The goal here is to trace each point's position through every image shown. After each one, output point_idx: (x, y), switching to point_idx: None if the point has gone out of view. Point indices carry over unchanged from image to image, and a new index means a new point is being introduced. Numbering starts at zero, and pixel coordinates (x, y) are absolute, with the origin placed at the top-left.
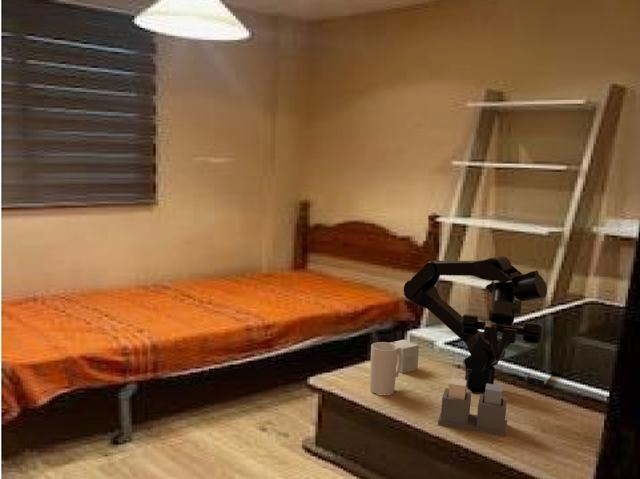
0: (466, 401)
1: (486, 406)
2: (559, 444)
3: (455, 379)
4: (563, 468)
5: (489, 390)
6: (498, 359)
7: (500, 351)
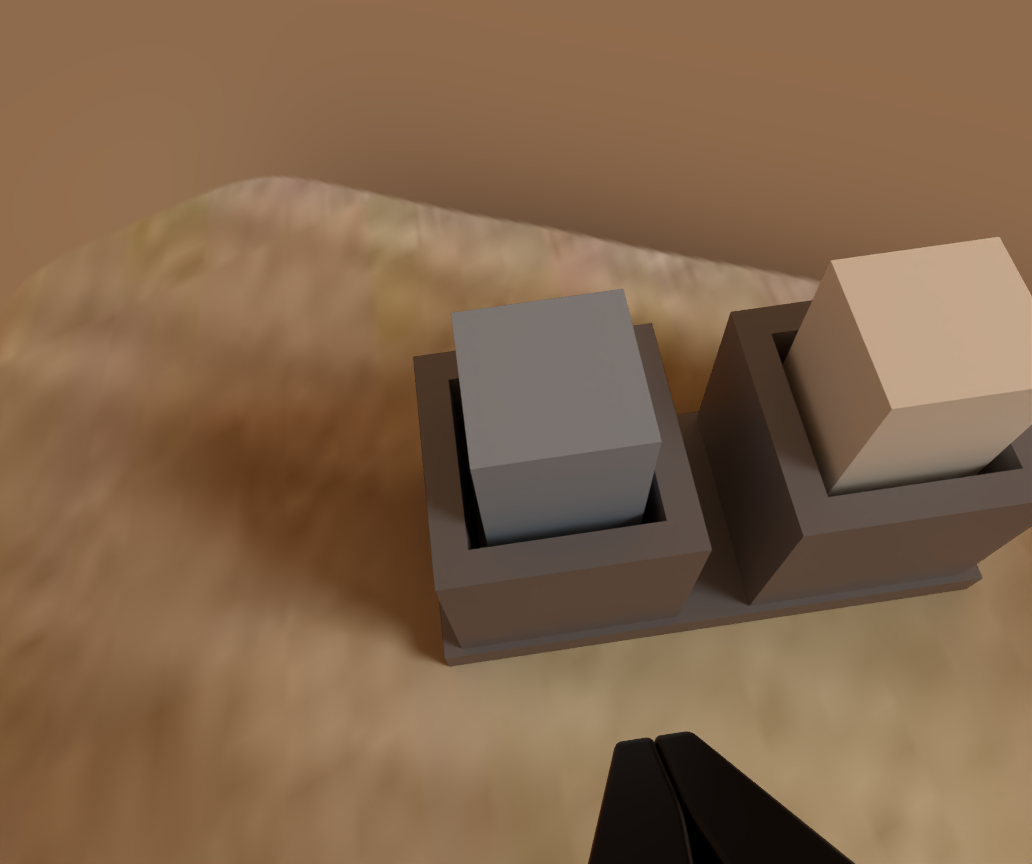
0: (755, 309)
1: None
2: (76, 541)
3: (1012, 365)
4: (102, 275)
5: (580, 301)
6: (627, 747)
7: (635, 859)
